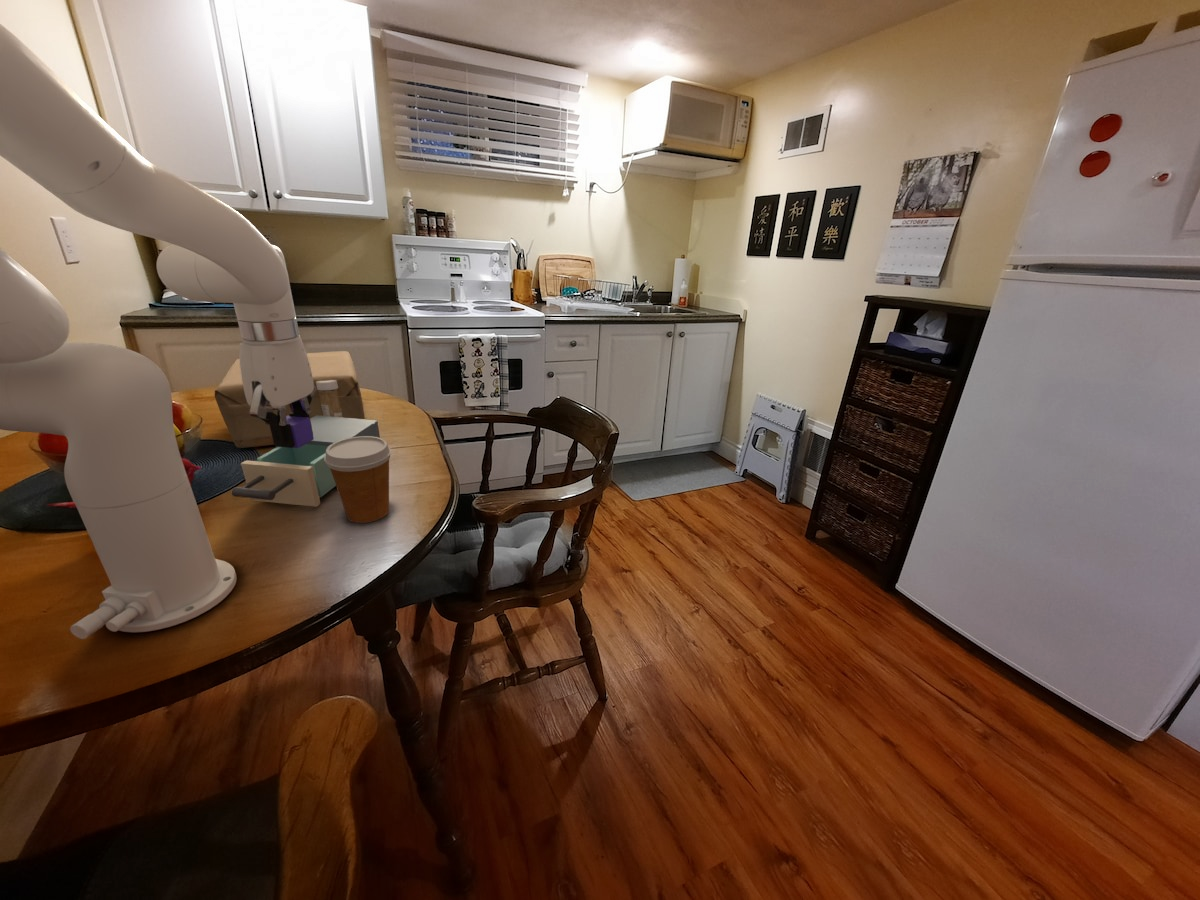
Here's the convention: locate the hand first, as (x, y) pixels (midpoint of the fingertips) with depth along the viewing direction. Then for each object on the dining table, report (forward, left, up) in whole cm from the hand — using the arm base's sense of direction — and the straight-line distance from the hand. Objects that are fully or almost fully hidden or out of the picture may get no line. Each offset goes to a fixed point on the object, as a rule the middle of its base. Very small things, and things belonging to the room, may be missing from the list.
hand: (294, 440), depth 82 cm
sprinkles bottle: (+23, +9, -10) cm, 27 cm away
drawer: (-3, 0, -9) cm, 10 cm away
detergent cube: (0, 0, 0) cm, 0 cm away
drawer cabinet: (+9, 0, -10) cm, 13 cm away
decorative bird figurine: (-14, +17, -10) cm, 24 cm away
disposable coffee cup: (-4, -14, -10) cm, 18 cm away
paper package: (+29, +21, -10) cm, 37 cm away
